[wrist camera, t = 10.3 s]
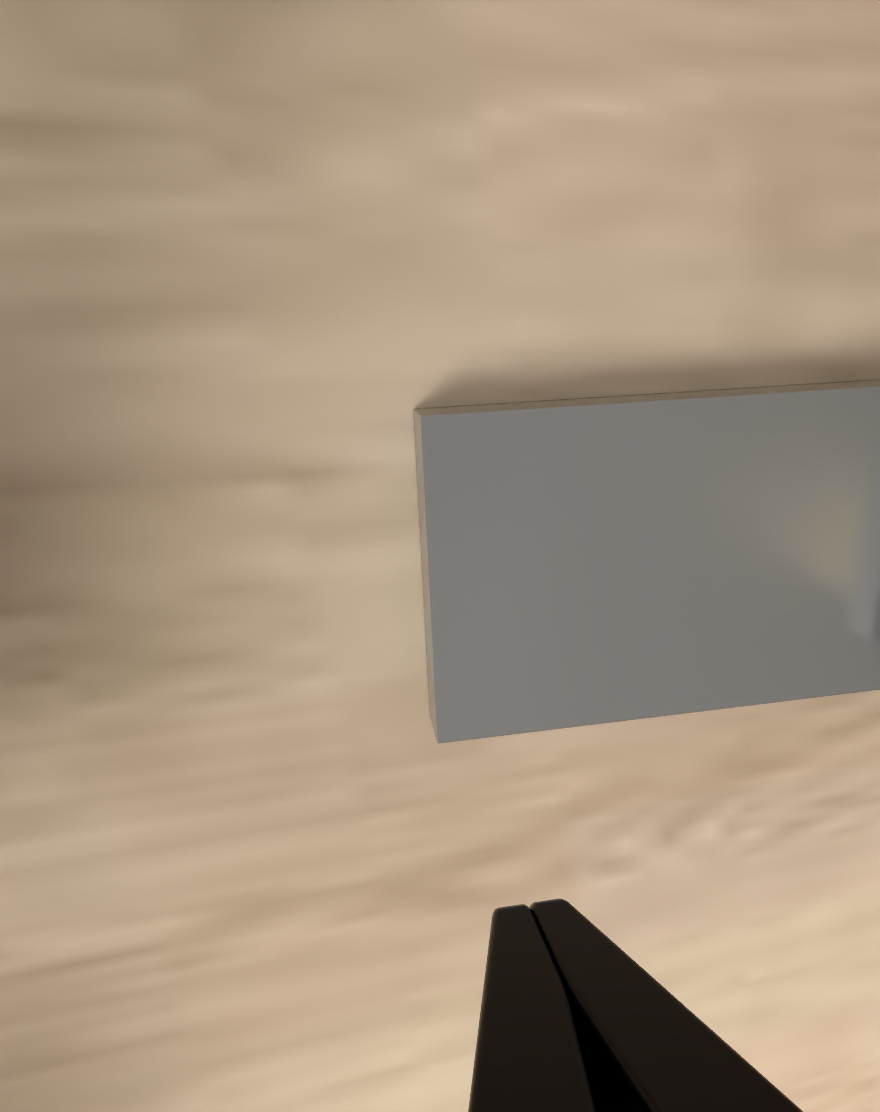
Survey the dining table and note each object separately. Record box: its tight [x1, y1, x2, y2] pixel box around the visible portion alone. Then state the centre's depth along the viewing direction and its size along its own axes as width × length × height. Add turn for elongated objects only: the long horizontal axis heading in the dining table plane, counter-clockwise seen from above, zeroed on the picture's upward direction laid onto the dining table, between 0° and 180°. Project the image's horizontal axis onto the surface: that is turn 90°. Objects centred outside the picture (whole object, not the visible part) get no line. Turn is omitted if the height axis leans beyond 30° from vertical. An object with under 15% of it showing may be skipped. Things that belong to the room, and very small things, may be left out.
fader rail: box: [413, 380, 880, 743], centre depth 21 cm, size 20×9×4 cm, turn 93°
